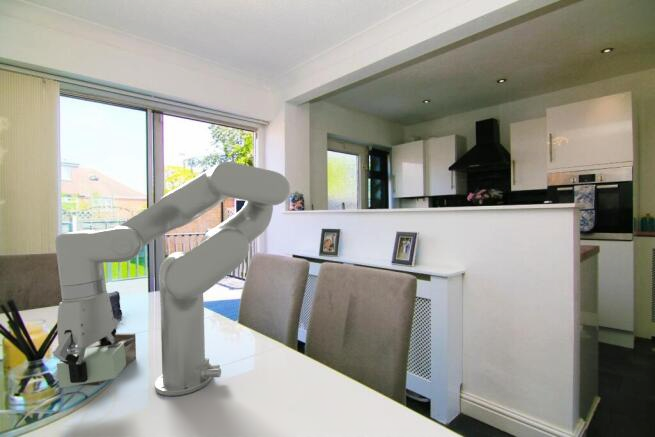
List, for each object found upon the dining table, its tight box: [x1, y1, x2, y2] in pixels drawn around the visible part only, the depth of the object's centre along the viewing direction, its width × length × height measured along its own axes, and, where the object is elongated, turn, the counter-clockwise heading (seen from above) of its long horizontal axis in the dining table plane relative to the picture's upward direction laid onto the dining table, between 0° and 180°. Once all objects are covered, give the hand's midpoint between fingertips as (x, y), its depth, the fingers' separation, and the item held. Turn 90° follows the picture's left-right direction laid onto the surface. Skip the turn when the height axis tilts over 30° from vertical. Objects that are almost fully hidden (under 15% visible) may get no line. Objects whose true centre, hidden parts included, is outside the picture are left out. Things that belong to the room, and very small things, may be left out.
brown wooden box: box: [79, 333, 137, 386], centre depth 84 cm, size 14×11×7 cm
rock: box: [107, 290, 123, 320], centre depth 128 cm, size 10×6×10 cm, turn 31°
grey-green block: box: [56, 343, 127, 389], centre depth 68 cm, size 10×6×5 cm, turn 103°
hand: (94, 370), depth 69 cm, fingers closed on grey-green block, 7 cm apart
